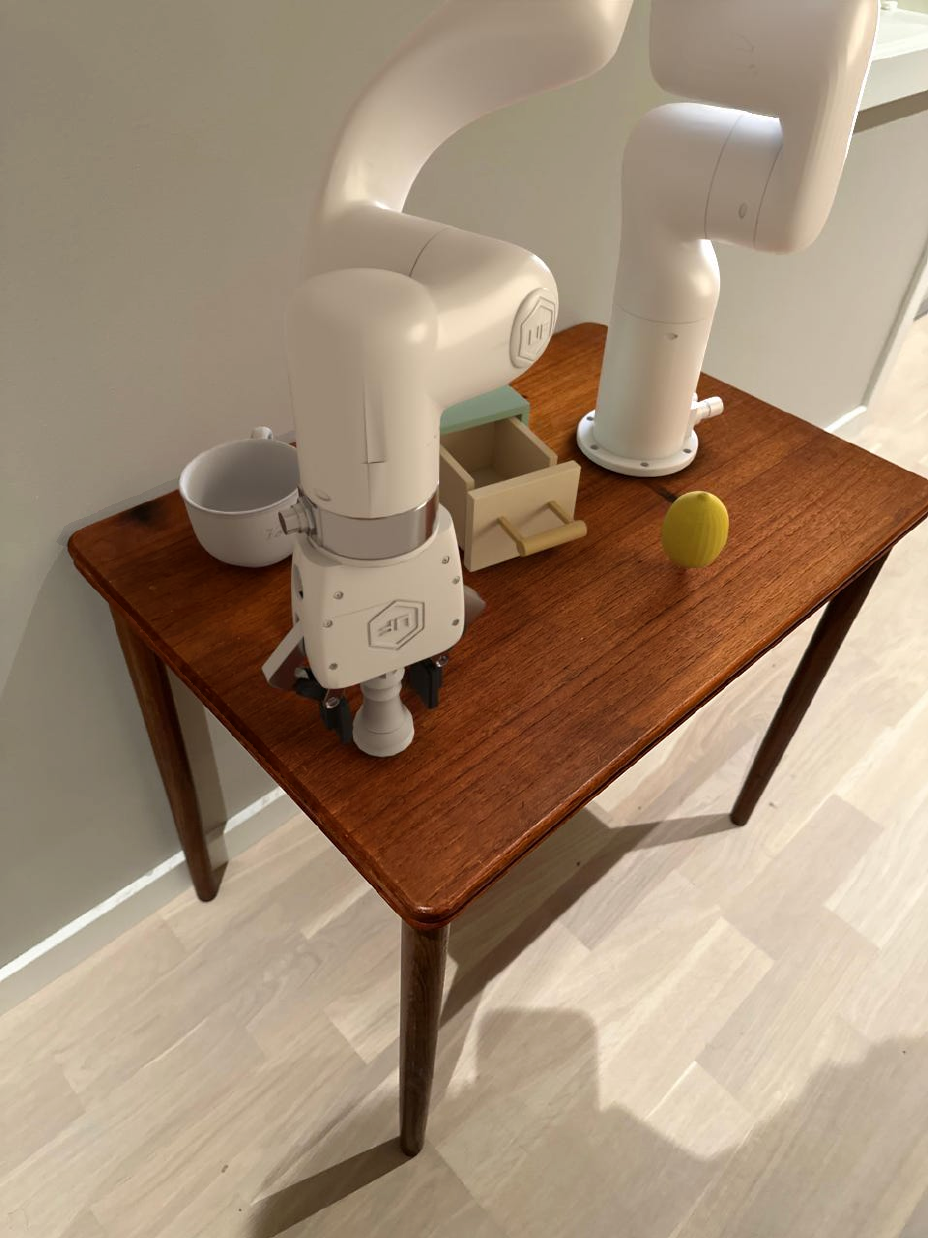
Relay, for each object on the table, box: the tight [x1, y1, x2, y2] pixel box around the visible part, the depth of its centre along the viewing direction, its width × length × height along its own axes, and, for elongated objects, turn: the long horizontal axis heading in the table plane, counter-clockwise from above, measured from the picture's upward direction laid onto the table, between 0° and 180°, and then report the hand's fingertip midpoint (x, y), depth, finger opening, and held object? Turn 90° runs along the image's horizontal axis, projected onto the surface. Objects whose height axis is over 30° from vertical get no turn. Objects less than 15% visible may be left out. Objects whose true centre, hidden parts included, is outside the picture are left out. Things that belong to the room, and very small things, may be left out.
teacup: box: [177, 426, 301, 568], centre depth 76 cm, size 14×11×8 cm
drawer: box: [439, 416, 588, 573], centre depth 76 cm, size 17×10×8 cm, turn 29°
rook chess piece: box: [352, 667, 415, 758], centre depth 60 cm, size 4×4×8 cm
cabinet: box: [440, 383, 531, 436], centre depth 84 cm, size 14×12×10 cm
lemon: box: [660, 490, 730, 569], centre depth 75 cm, size 6×6×8 cm
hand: (382, 709), depth 61 cm, fingers open, 5 cm apart
